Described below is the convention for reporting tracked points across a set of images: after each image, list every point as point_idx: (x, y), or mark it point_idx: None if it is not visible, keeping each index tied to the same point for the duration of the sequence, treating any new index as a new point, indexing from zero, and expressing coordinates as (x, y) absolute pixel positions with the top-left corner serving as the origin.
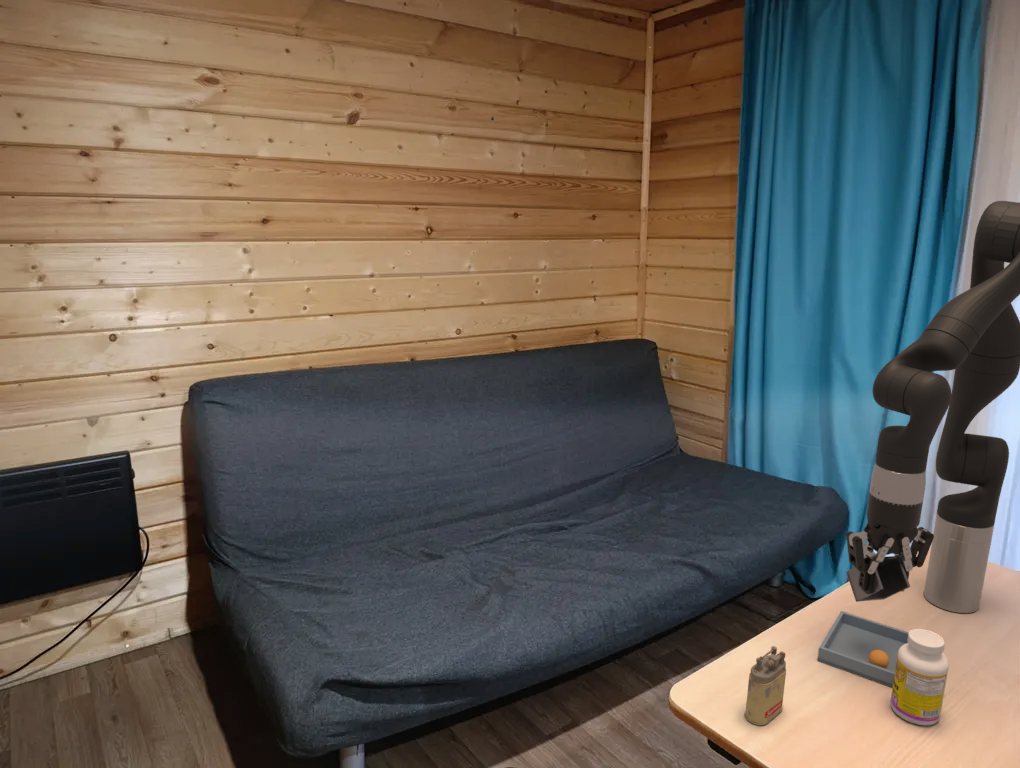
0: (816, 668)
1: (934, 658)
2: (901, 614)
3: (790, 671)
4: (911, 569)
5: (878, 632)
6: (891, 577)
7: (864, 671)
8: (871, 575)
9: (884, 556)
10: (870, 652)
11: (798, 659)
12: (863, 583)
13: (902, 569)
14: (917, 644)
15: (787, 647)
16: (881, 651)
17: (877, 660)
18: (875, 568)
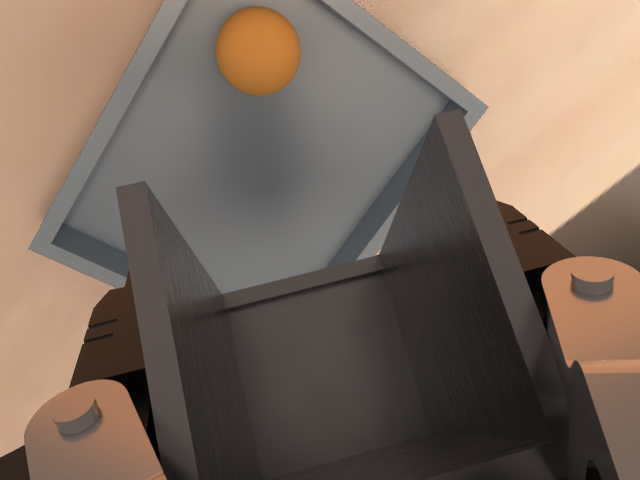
0: (487, 43)
1: None
2: (28, 417)
3: (590, 16)
4: (45, 408)
5: None
6: (217, 375)
7: None
8: (538, 260)
9: (614, 444)
10: (246, 150)
11: (526, 96)
12: (533, 229)
13: (173, 382)
14: None
15: (529, 167)
16: (255, 58)
17: (281, 19)
18: (560, 308)
